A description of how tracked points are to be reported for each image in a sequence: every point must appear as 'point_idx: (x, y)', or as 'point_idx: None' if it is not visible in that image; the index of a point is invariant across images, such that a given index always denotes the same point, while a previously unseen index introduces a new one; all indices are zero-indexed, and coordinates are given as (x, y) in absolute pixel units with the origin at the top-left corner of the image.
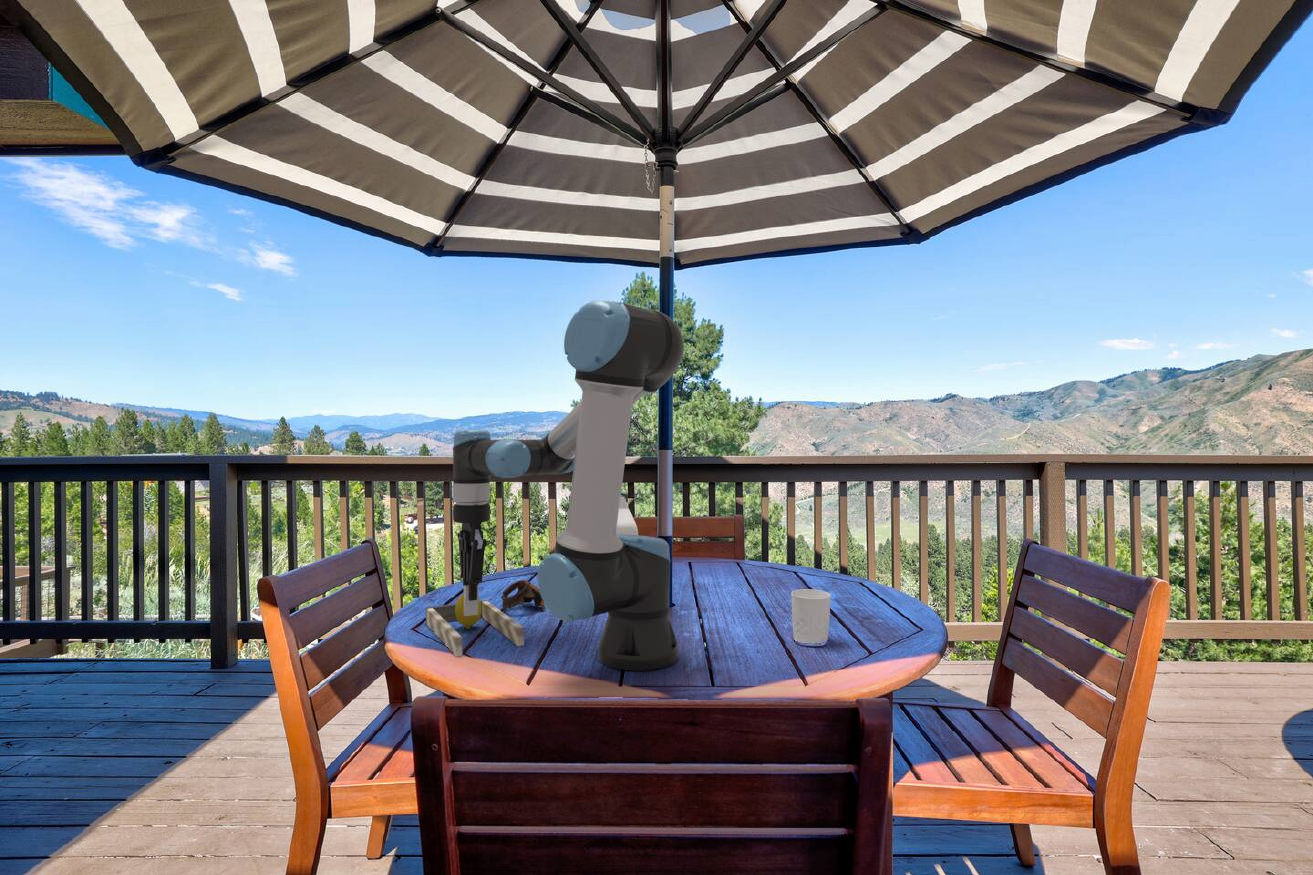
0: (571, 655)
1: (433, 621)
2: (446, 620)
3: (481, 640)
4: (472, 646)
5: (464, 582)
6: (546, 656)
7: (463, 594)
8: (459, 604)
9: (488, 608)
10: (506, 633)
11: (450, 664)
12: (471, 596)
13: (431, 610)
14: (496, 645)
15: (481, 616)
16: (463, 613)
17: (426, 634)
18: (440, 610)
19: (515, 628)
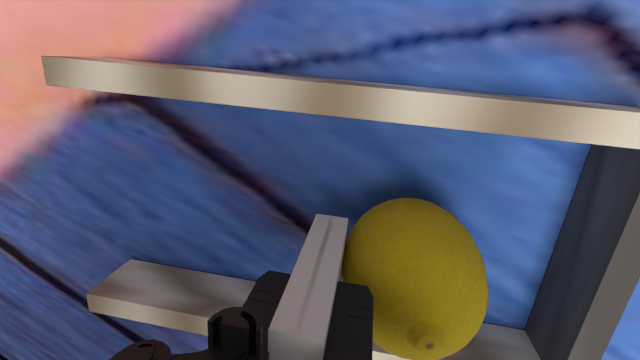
0: (18, 316)
1: (474, 94)
2: (578, 197)
3: (237, 201)
4: (189, 150)
5: (245, 337)
6: (28, 271)
7: (429, 303)
8: (394, 237)
9: (444, 357)
10: (227, 284)
11: (39, 13)
12: (252, 292)
13: (607, 125)
14: (165, 215)
15: (526, 329)
16: (361, 224)
17: (445, 49)
18: (622, 188)
19: (113, 293)
